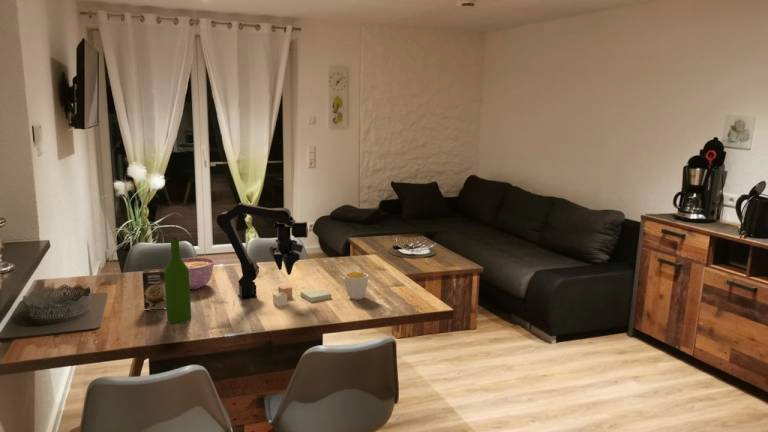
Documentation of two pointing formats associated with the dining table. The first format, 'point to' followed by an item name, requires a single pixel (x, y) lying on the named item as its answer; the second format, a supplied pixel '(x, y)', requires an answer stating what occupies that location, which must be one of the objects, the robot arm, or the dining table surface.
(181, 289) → the wine bottle
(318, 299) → the base plate
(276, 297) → the brick cream
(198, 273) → the bowl of food
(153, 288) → the coffee box
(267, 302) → the dining table surface
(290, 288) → the orange brown cube
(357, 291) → the mug
